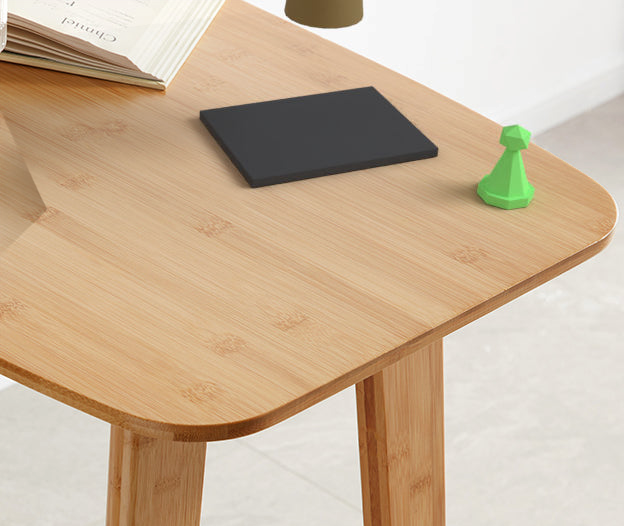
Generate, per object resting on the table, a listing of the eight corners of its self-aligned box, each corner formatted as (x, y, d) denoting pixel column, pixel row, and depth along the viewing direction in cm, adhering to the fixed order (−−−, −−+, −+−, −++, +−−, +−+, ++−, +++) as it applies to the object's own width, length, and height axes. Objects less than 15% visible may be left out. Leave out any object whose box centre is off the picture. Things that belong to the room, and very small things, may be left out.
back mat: (252, 188, 85) (252, 179, 85) (199, 118, 94) (199, 110, 93) (437, 156, 91) (439, 147, 90) (371, 93, 100) (372, 85, 99)
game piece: (544, 198, 87) (559, 127, 83) (508, 215, 84) (521, 143, 81) (501, 175, 89) (514, 105, 85) (465, 191, 87) (476, 120, 83)
